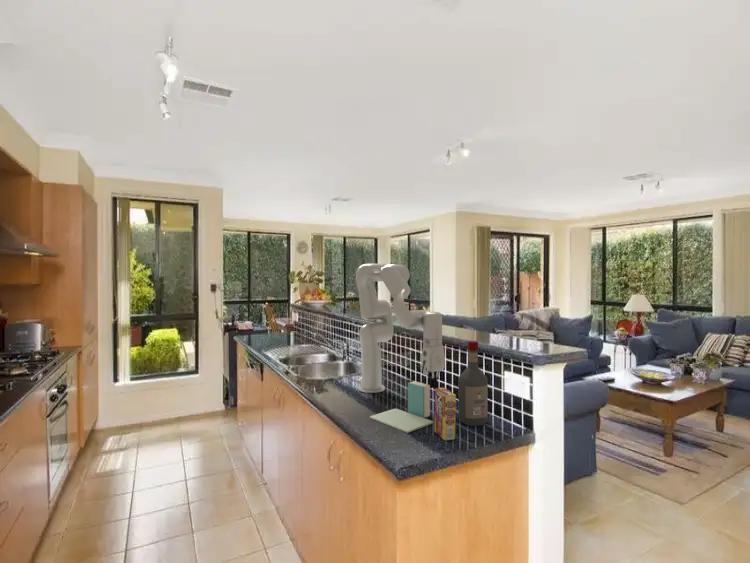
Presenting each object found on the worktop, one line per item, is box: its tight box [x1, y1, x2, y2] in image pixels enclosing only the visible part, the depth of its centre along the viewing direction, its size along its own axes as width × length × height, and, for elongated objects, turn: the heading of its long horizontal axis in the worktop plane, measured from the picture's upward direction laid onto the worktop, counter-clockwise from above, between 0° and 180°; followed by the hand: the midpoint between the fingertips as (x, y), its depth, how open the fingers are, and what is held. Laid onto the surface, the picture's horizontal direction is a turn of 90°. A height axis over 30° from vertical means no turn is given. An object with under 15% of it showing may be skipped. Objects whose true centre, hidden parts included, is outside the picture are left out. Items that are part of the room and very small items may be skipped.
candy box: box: [433, 387, 457, 441], centre depth 141 cm, size 9×4×15 cm, turn 14°
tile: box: [407, 380, 431, 419], centre depth 162 cm, size 8×4×12 cm, turn 42°
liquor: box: [458, 340, 489, 427], centre depth 153 cm, size 9×9×30 cm
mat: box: [369, 408, 435, 434], centre depth 155 cm, size 20×14×1 cm
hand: (432, 387), depth 167 cm, fingers closed
